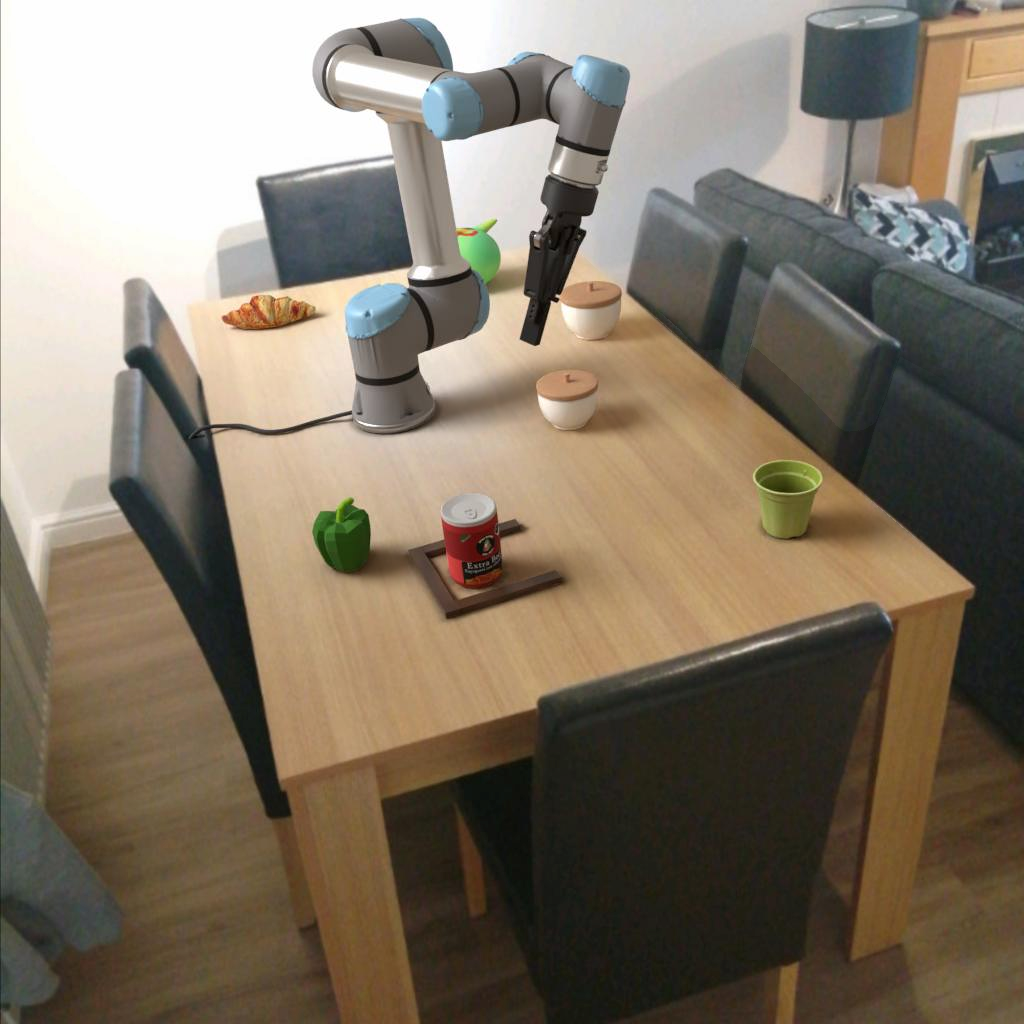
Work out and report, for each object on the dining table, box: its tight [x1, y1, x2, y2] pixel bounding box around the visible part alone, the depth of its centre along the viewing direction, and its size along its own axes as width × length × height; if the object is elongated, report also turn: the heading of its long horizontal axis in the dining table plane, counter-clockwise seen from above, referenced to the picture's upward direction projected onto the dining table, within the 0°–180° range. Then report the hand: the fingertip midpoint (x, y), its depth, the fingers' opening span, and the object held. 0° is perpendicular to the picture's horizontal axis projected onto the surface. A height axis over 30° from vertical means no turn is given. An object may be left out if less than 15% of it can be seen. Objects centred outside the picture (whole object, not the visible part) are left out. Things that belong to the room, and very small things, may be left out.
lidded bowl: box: [559, 280, 623, 341], centre depth 214 cm, size 13×13×11 cm
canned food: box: [440, 492, 504, 589], centre depth 144 cm, size 8×8×11 cm
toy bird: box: [456, 218, 502, 285], centre depth 243 cm, size 18×17×15 cm
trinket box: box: [535, 369, 599, 431], centre depth 181 cm, size 11×11×9 cm
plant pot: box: [752, 459, 824, 539], centre depth 147 cm, size 9×9×9 cm
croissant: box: [221, 294, 317, 330], centre depth 237 cm, size 21×10×8 cm, turn 101°
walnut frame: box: [407, 518, 563, 619], centre depth 147 cm, size 17×17×1 cm
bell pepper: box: [311, 496, 372, 573], centre depth 149 cm, size 8×8×10 cm
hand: (529, 341), depth 151 cm, fingers closed
